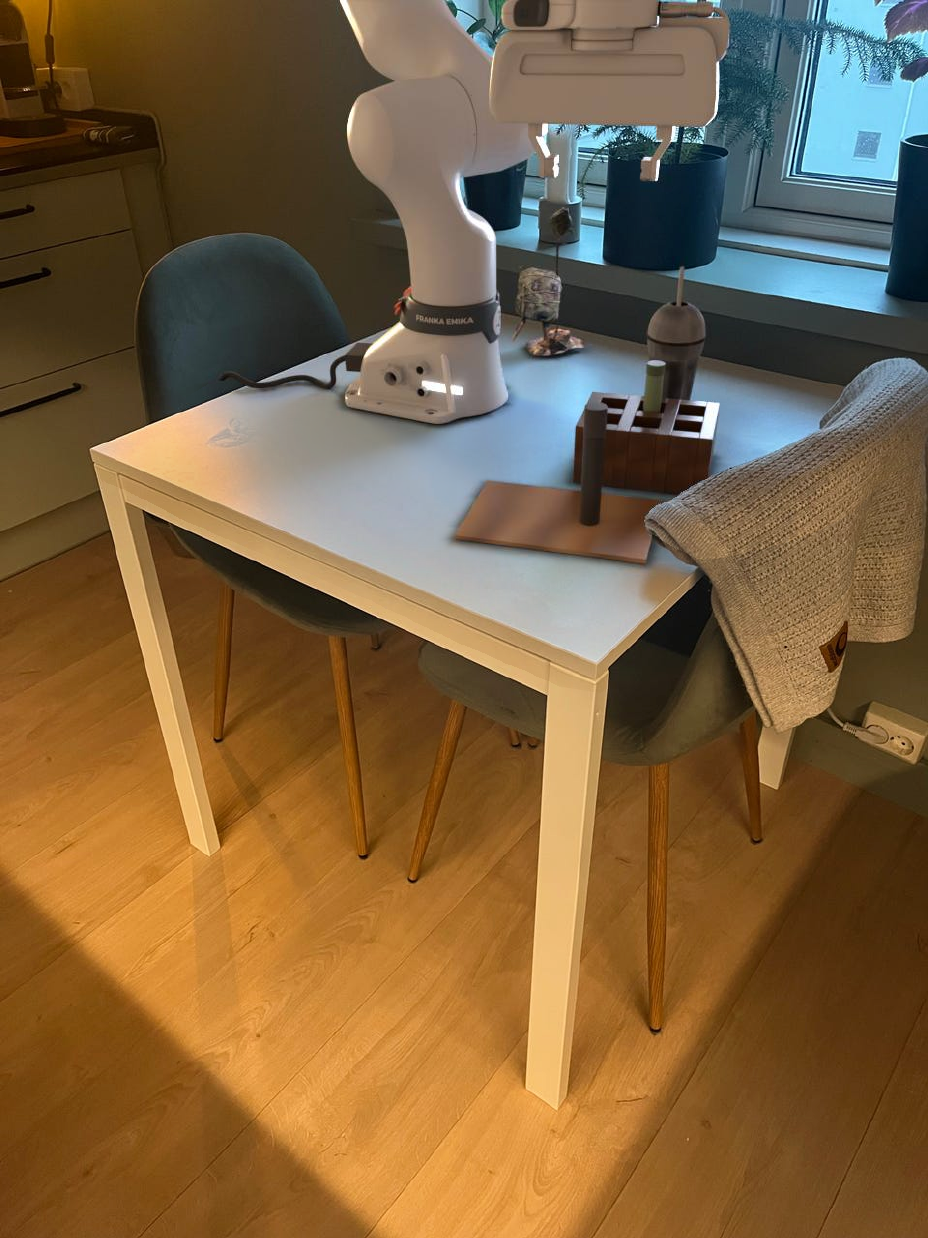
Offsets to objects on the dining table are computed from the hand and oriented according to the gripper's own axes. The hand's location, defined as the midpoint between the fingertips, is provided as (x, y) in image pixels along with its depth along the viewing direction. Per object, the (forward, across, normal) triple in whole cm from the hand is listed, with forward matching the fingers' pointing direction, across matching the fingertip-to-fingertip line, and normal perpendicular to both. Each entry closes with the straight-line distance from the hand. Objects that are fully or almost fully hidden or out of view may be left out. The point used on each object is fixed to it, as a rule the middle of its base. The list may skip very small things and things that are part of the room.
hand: (598, 178), depth 89 cm
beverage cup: (+33, -7, -22) cm, 41 cm away
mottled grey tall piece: (+33, +14, -46) cm, 58 cm away
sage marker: (+33, -6, -10) cm, 35 cm away
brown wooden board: (+33, +1, +6) cm, 34 cm away
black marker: (+33, -2, +6) cm, 33 cm away
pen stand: (+33, -6, -8) cm, 35 cm away
